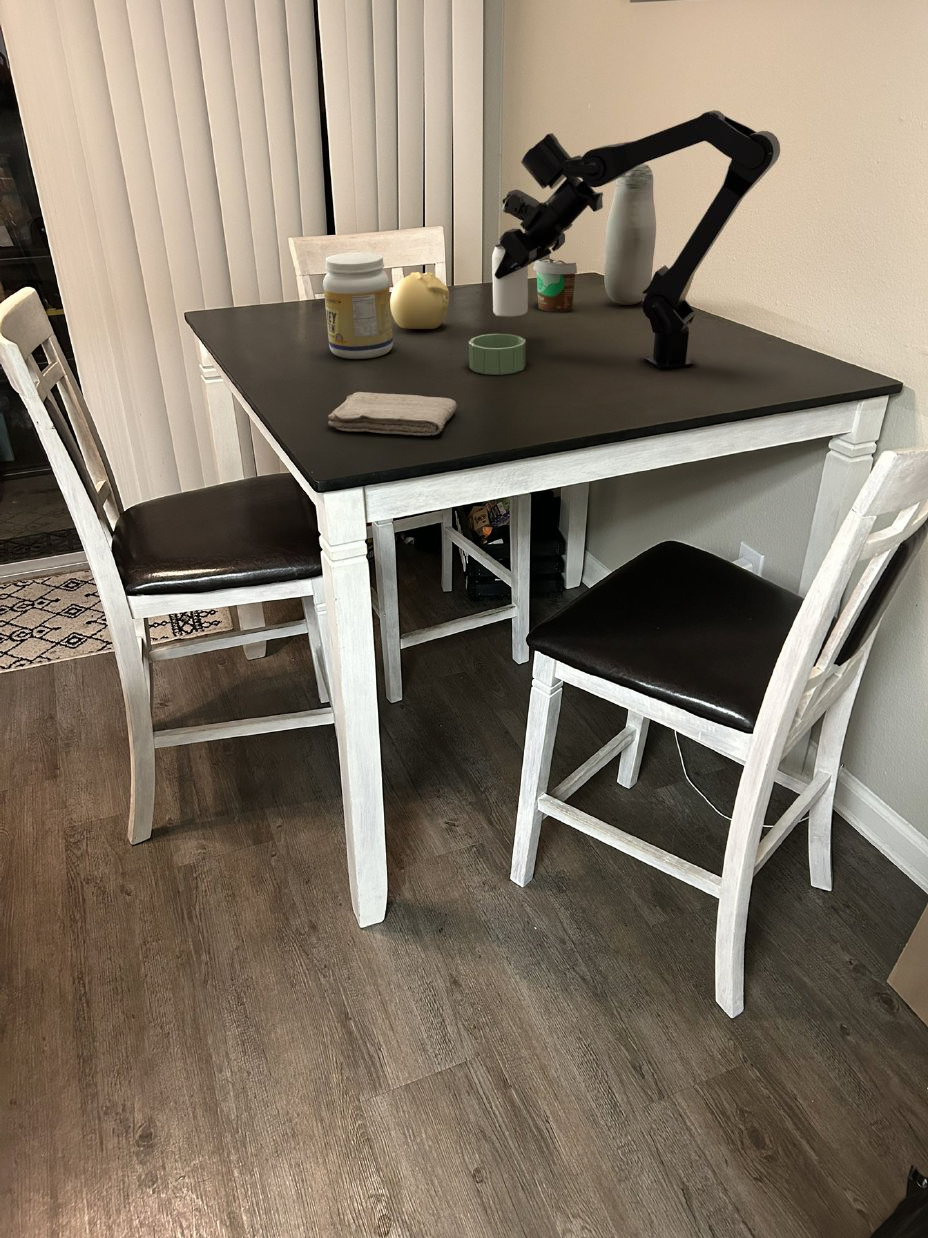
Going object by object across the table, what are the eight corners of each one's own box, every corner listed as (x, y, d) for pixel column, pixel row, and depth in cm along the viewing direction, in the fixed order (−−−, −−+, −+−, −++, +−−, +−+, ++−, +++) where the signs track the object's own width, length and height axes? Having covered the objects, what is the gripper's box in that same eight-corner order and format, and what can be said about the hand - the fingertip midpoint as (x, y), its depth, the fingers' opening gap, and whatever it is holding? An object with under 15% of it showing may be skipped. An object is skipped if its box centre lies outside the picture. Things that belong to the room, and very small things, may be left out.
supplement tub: (323, 347, 177) (313, 254, 168) (383, 339, 181) (376, 248, 172) (338, 363, 168) (329, 266, 159) (401, 355, 171) (396, 259, 162)
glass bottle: (595, 301, 204) (602, 160, 189) (637, 296, 206) (647, 158, 191) (614, 311, 196) (623, 165, 181) (657, 306, 198) (670, 162, 183)
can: (533, 311, 172) (533, 243, 166) (517, 319, 168) (517, 249, 161) (503, 308, 175) (502, 241, 169) (486, 315, 170) (485, 247, 164)
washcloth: (351, 405, 148) (349, 387, 146) (459, 411, 144) (458, 392, 142) (325, 432, 138) (323, 412, 136) (441, 439, 134) (440, 418, 133)
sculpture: (458, 330, 186) (456, 274, 180) (402, 337, 182) (398, 280, 176) (438, 317, 195) (436, 264, 189) (384, 324, 191) (381, 269, 185)
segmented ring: (532, 370, 161) (533, 345, 159) (479, 377, 159) (479, 351, 157) (514, 356, 169) (514, 331, 167) (463, 361, 167) (462, 336, 165)
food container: (522, 303, 203) (523, 256, 198) (547, 300, 205) (548, 253, 200) (550, 315, 194) (551, 266, 188) (575, 312, 196) (577, 262, 190)
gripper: (550, 166, 164) (495, 230, 174) (509, 179, 150) (451, 248, 160) (590, 215, 166) (533, 276, 176) (553, 232, 151) (493, 297, 161)
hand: (503, 273), depth 168 cm, fingers closed on can, 6 cm apart
